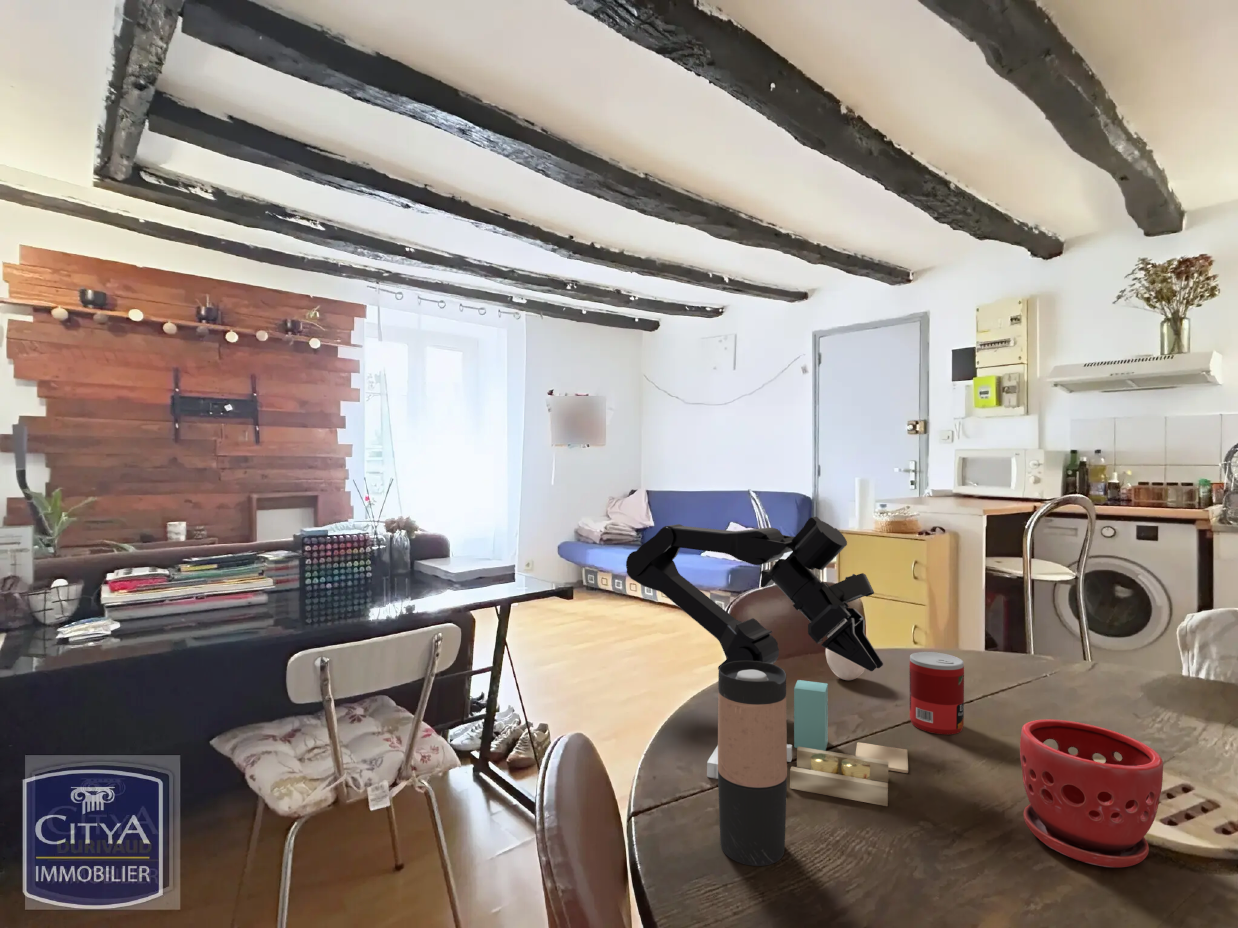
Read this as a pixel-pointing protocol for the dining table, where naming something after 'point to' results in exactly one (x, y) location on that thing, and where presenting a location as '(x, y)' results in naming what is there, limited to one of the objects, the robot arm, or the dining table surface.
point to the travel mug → (752, 761)
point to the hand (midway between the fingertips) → (877, 667)
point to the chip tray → (713, 762)
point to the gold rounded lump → (824, 763)
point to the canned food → (937, 692)
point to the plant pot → (1090, 791)
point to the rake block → (811, 715)
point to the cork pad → (885, 755)
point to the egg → (843, 666)
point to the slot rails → (841, 778)
